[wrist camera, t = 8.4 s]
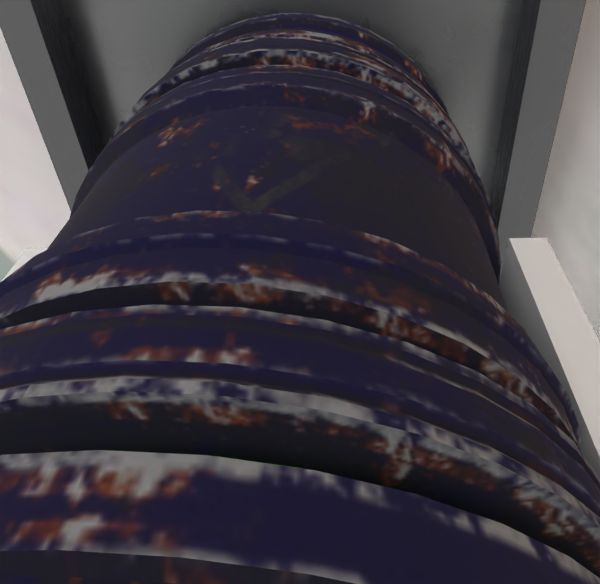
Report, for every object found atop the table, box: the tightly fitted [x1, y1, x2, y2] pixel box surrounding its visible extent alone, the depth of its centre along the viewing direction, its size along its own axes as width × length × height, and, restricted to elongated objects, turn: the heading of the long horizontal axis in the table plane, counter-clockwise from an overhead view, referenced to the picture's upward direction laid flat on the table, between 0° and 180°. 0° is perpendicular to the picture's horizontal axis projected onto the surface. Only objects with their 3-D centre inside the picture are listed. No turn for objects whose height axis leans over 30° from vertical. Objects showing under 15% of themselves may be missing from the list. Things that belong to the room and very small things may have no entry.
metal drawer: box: [0, 0, 586, 285], centre depth 14 cm, size 17×14×11 cm
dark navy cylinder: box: [0, 13, 600, 584], centre depth 11 cm, size 10×10×15 cm
